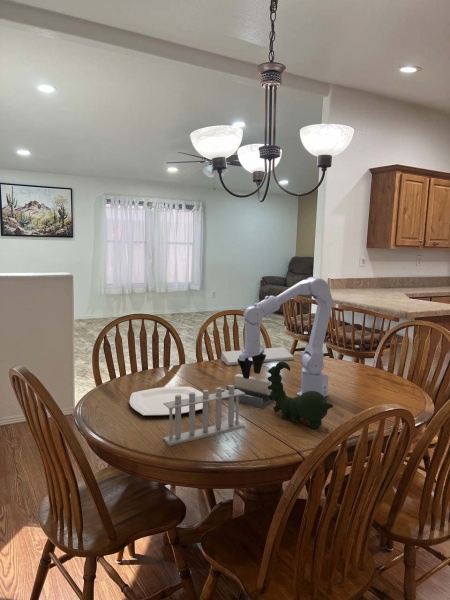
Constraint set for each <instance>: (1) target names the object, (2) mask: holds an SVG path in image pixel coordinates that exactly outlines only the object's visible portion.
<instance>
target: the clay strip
mask: <svg viewBox="0 0 450 600" xmlns="http://www.w3.org/2000/svg"><path fill="white" fill-rule="evenodd" d="M234 382H235V384H234V383H233V385H234V386H235V387H239V388H243V389H247V390H252V391H256V392H260V393H264V394H268V395H270V390H268V386H271V381H268V379H265V378H259V377H254V376H251V375H250V377H249V379H245V378H243V374H242V373H237V374H235V375H234Z"/></svg>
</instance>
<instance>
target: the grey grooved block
mask: <svg viewBox="0 0 450 600" xmlns="http://www.w3.org/2000/svg"><path fill="white" fill-rule="evenodd" d="M234 384H235V381H234V382H233V385H234ZM229 385H230V384H228V385H226V389H225V388H222V392H224V391H229V388H228V387H229ZM235 389H238V390H240V391H242V392H244V393H245V394H244V395H239V404H240V403H241V404H243V405H248V406H252V407H256V408H259V409H262V408H264V407H265V406H267V405H269V404H270V403H273V402H274V400H270V399H269V395H268V394H264V393H260V392H256V391H252V390H247V389H243V388H239V387H235V386H234V390H235ZM270 395H272V390H270ZM224 400H228V398H224ZM234 402H236V396H234Z"/></svg>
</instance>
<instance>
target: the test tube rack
mask: <svg viewBox="0 0 450 600" xmlns="http://www.w3.org/2000/svg"><path fill="white" fill-rule="evenodd" d="M228 385H229V387H228V388H229V391H224V392H222V389H223V388H222V387H216V388H215V393H210V392H209V390H208V389H203V390H202V393H203V396H198V397H195V392H190V393H189V398H187V399H182V400H181V395H175V401H171V402H166V403H163V404H164V405H165V406H166V407H168V408H169V415H168V416H169V419H168V420H169V421H168V422H169V425H168V426H169V427H168V428H169V434H168V436H164V437H162V438H163V439H162V440H163V441H164V442H165V443H166V445H168V446H174V445H179V444H182V443H183V444H184V443H186V442H191V441H196V440H199V439H203V438H206V437H212V436H215V435H220V434H223V433H227V432H231V431H232V432H233V431H236V430H239V429H240V430H241V429H243V428H245V426H246V425H245V424H243V423H242V422H240V421H239V407H240V406H239V404H240V402H239V395H244V394H245V393H244V392H242V391H240V390H238V389H235V390H234V384H228ZM234 396H236V401H234ZM225 398H228V399H227V400H228V401H227V402H228V404H227V407H228V408H227V411H228V412H227V422H223V423H222V403H223V401H222V400H223V399H224V400H225ZM213 401H215V425H212V426H209V414H210V413H209V411H210V410H209V403H210V402H213ZM198 403H203V409H202V428H198V429H197V428H196V411H195V404H198ZM188 405H189V413H188V431H185V432H182V414H181V407H183V406H188ZM173 408H175V415H174V434H173V415H172V410H173ZM234 417H235V419H234Z"/></svg>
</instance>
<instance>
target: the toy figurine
mask: <svg viewBox="0 0 450 600" xmlns="http://www.w3.org/2000/svg"><path fill="white" fill-rule="evenodd" d="M283 369H286V370H288V372H290V371H291V367H290V365H289V363H287V362H285V361H278V362H276V365H275V366H272V367H271V368H270V369H269V368H268V370H267V372H268V373H269V374H270V376H268V377H267V380H268V381H271V386H268V390H272V395H269V399H270V400H274V401H275V406H273V411H274V412H275V413H278V412H280V411H281V418H282V419H283V420H287V419H288V418H290V420H291V421H292V422H293V423H297V422H299V420H302V419H303V420H304V421H306V422H309V426H310V428H312V429H318V428H319V427H321V426H322V424H323V421H322V420H324V419H325V417H326V416H327V415H328V411H329V410H330V409H332V408H333V407H334V404H332V403H330V402H328V401H327V399H326V396H325V397H324V396H323V395H322V394H321V393H319V392H317V391H307V392H304V393H303V394H302V395H300V396H295V397H289V396H288V395H287V394H286V391H285V390H284V384H283V382H282V380H283V379H282V378H283V377H282V375H281V370H283ZM274 401H273V402H274Z"/></svg>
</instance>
